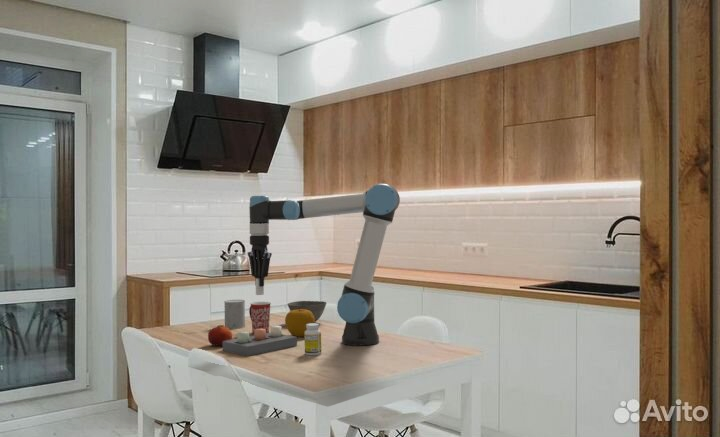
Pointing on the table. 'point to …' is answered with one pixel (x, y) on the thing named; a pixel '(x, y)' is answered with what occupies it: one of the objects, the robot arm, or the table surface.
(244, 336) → the button sage
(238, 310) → the grey stone cylinder
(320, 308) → the bowl
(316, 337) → the pill bottle
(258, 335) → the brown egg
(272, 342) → the panel
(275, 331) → the button cream
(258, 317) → the mug
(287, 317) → the apple
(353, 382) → the table surface
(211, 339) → the tomato
